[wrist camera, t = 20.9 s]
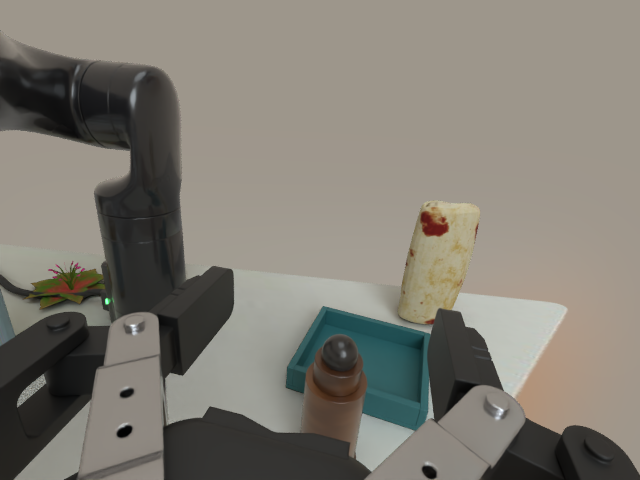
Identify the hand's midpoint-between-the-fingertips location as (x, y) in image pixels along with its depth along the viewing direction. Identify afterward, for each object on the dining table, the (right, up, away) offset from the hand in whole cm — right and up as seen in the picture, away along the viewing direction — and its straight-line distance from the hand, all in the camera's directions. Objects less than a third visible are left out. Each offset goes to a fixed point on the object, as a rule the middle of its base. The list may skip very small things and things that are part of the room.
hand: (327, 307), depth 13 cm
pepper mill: (0, -18, +19) cm, 26 cm away
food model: (+17, -10, +42) cm, 46 cm away
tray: (+5, -14, +30) cm, 34 cm away
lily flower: (-40, -6, +41) cm, 57 cm away
